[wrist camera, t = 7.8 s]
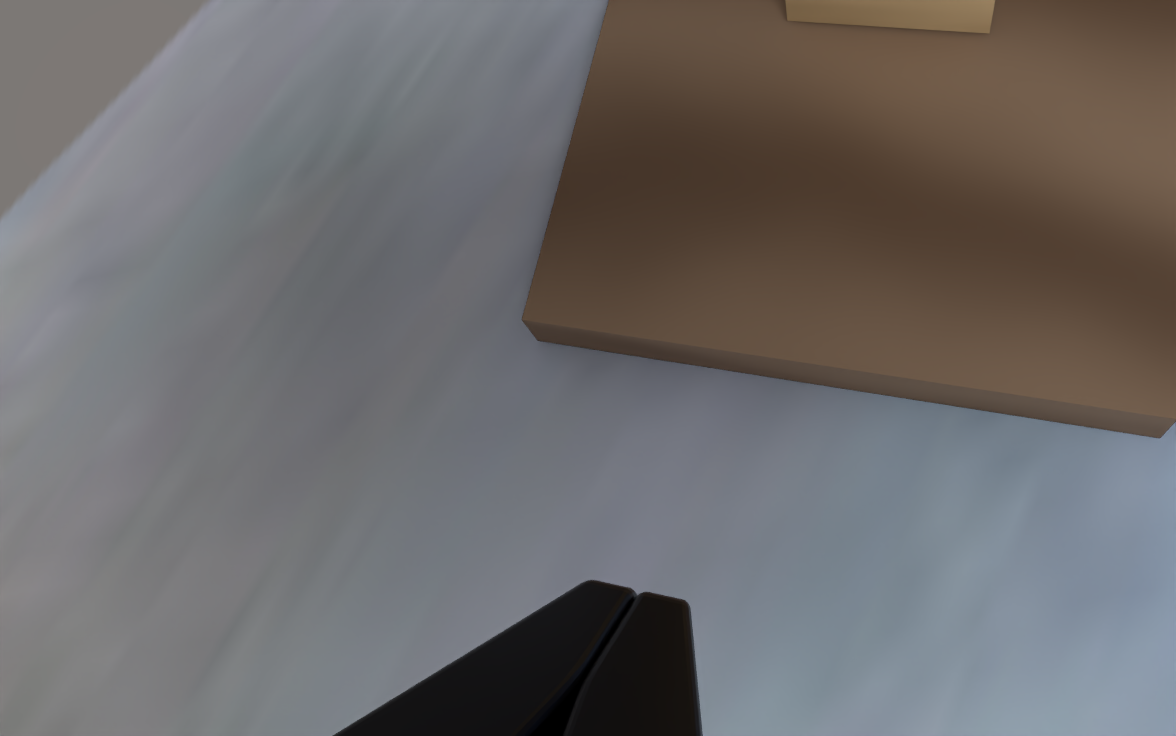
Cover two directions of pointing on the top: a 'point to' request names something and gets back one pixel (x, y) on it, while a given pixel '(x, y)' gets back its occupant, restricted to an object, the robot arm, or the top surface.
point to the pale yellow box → (897, 13)
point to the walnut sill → (880, 205)
